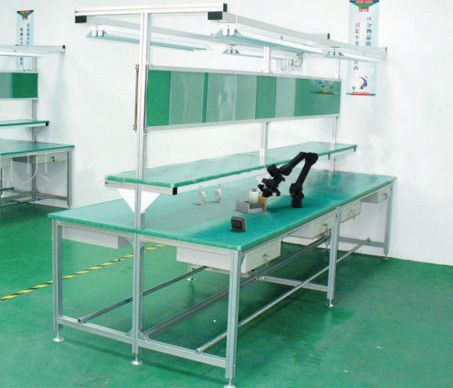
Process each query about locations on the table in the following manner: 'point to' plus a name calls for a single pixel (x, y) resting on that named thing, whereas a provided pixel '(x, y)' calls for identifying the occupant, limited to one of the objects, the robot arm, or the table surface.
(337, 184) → the table surface
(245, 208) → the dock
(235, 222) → the electrical switch
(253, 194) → the bottle
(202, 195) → the headset
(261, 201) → the grey and tan box
